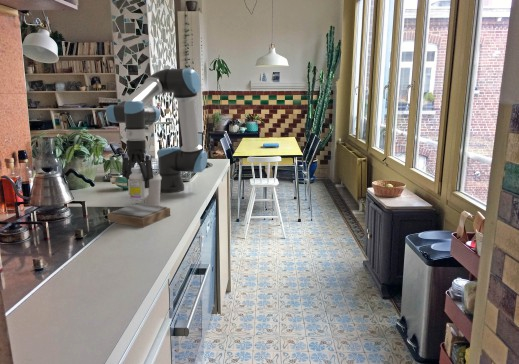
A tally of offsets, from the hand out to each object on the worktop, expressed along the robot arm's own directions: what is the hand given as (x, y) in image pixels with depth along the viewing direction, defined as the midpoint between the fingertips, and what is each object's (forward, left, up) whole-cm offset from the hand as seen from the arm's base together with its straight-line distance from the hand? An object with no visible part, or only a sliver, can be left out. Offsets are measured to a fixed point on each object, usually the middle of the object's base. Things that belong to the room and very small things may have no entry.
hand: (138, 194), depth 175 cm
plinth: (0, 0, -10) cm, 10 cm away
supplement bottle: (0, 0, -2) cm, 2 cm away
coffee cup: (-19, -8, -11) cm, 23 cm away
